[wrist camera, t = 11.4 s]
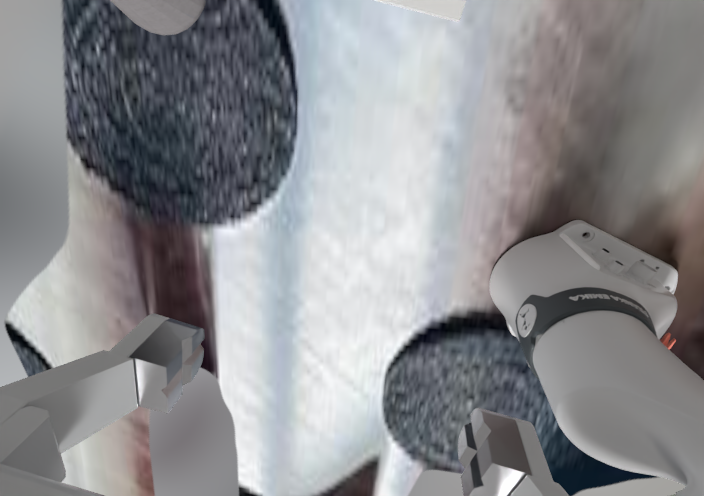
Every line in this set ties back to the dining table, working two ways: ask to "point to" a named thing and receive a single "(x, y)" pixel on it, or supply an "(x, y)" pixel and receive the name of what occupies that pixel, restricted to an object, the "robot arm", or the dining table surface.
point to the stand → (432, 7)
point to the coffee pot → (162, 14)
